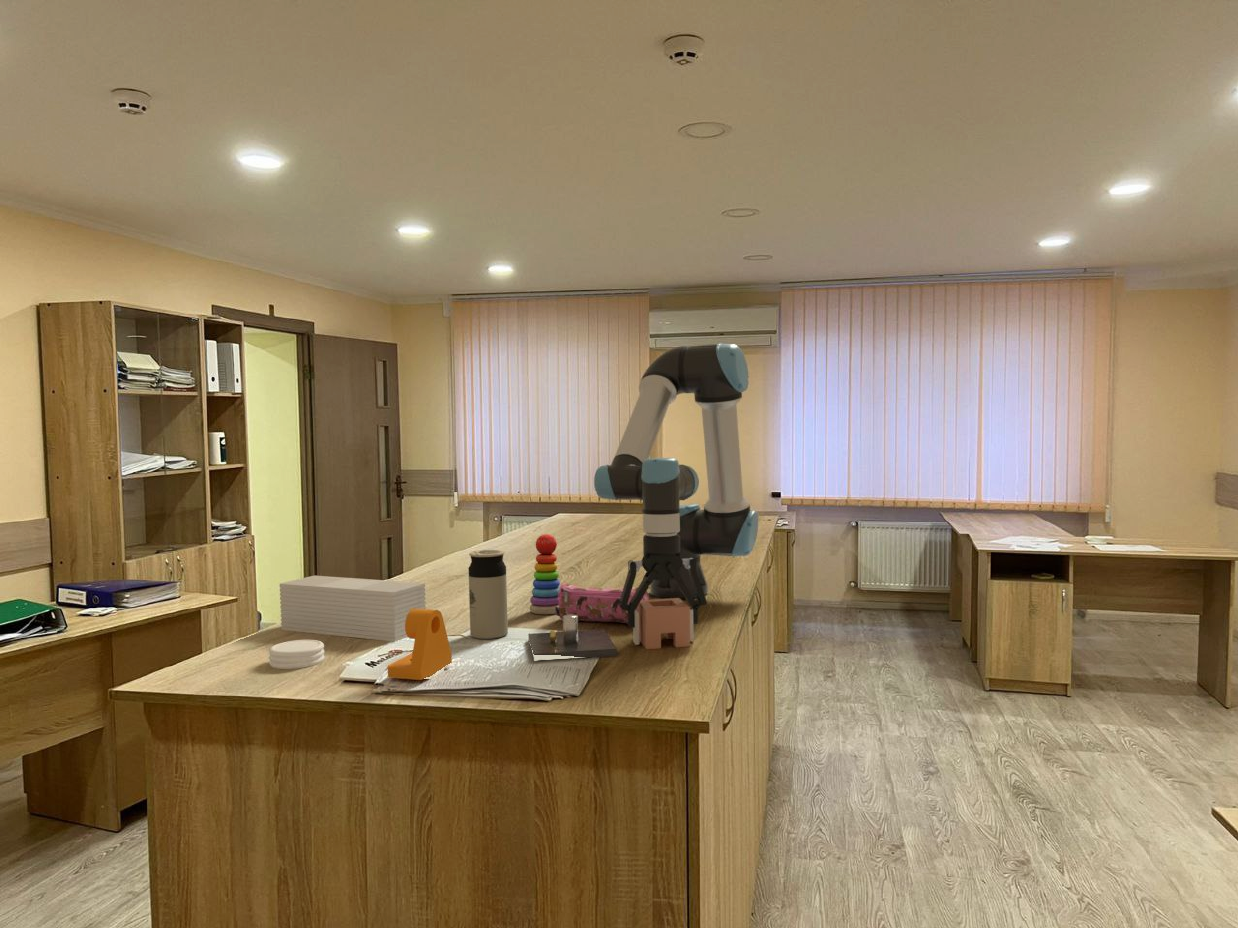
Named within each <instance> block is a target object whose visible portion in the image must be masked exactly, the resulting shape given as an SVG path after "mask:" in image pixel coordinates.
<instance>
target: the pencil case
mask: <svg viewBox="0 0 1238 928" xmlns="http://www.w3.org/2000/svg"><path fill="white" fill-rule="evenodd" d="M638 587H639V586H637V587H636V588H635V587H632V590H631V594H630V597H629V600H628V604H629V603H630V601H631V599H632V597H633V596H634V594H635V592H636V590H637V589H638ZM559 588H560V589H559V592H558V597H559V607H555V612H556V613H555V615H556V616H557V617H559V619H561V620H562V621H563V616H564V615H577V616H578V622H601V623H614V622H615V623H623V624H625V625H628V611H626V610H622V609H621V608H620V607H619V601H620V598H621V594H622V591H623V588H624V587H621V588H612V587H610V588H609V587H608V588H607V587H606V588H604V587H603V588H601V587H598V588H597V587H595V588H593V587H581V586H578V585H577V586H576V585H573V584H570V583H568V582H564V583H562V584H560V586H559ZM641 600H650V596H649V593H648V590H647V591H646V593H645V594H644V596H643V598H642V599H641ZM636 610H637V608H636Z"/></svg>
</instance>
